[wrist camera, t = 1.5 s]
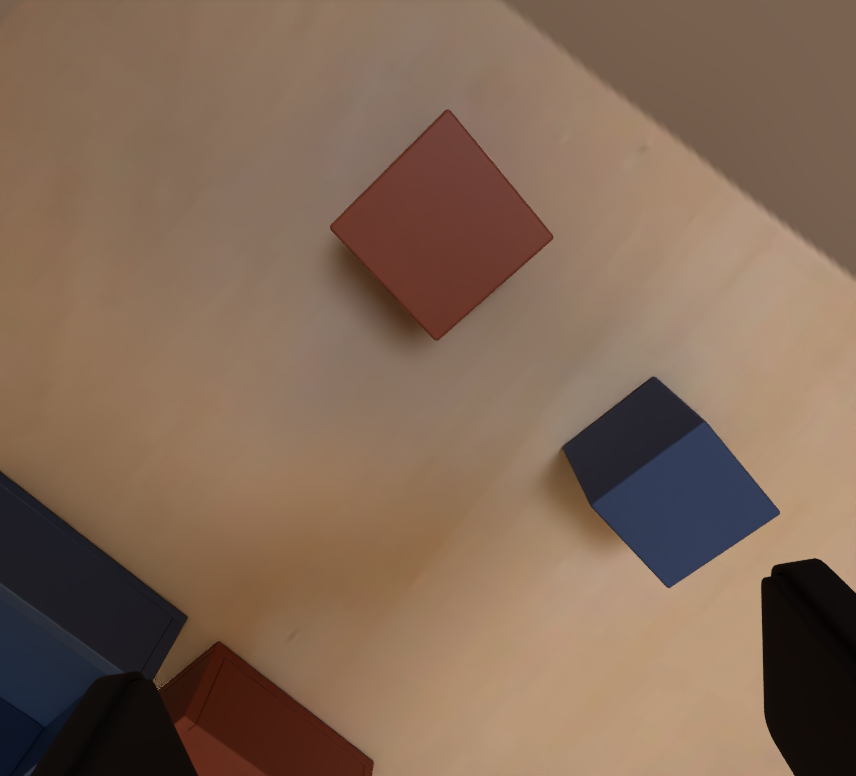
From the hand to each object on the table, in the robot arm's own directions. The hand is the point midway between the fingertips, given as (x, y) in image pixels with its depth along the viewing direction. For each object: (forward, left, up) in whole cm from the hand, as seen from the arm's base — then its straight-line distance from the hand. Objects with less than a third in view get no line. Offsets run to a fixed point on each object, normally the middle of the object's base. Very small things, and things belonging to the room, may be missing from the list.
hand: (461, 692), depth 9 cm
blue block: (+8, +4, -14) cm, 17 cm away
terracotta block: (-4, +4, -14) cm, 16 cm away
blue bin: (-4, -21, -14) cm, 26 cm away
